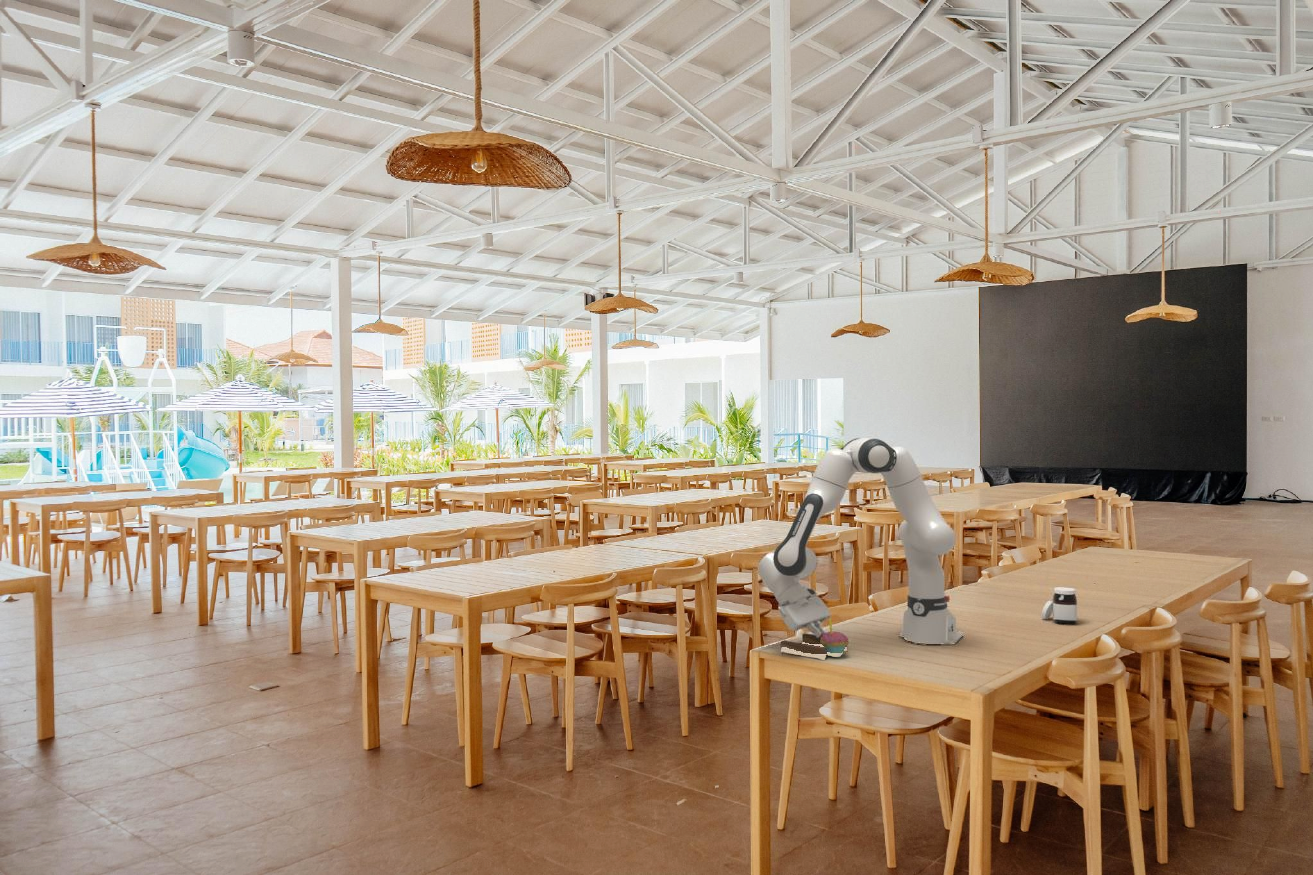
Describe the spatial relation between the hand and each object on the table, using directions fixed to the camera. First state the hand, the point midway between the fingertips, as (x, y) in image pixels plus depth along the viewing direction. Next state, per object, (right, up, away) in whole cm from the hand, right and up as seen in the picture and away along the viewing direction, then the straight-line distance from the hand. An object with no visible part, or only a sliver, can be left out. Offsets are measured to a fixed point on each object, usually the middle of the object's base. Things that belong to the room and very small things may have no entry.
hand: (821, 635), depth 294 cm
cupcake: (+3, -6, -3) cm, 7 cm away
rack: (-2, -5, +2) cm, 6 cm away
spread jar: (+89, -4, +42) cm, 99 cm away
